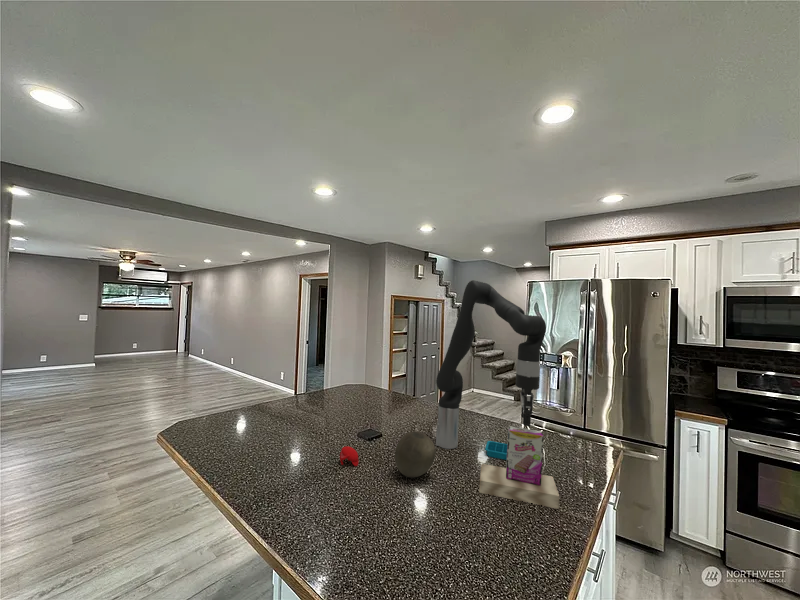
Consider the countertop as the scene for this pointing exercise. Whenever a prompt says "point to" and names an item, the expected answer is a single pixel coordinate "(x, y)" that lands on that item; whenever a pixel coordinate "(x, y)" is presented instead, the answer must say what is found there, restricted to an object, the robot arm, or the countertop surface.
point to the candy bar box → (524, 455)
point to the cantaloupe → (414, 454)
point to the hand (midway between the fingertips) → (525, 421)
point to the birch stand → (518, 487)
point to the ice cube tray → (496, 450)
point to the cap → (349, 455)
